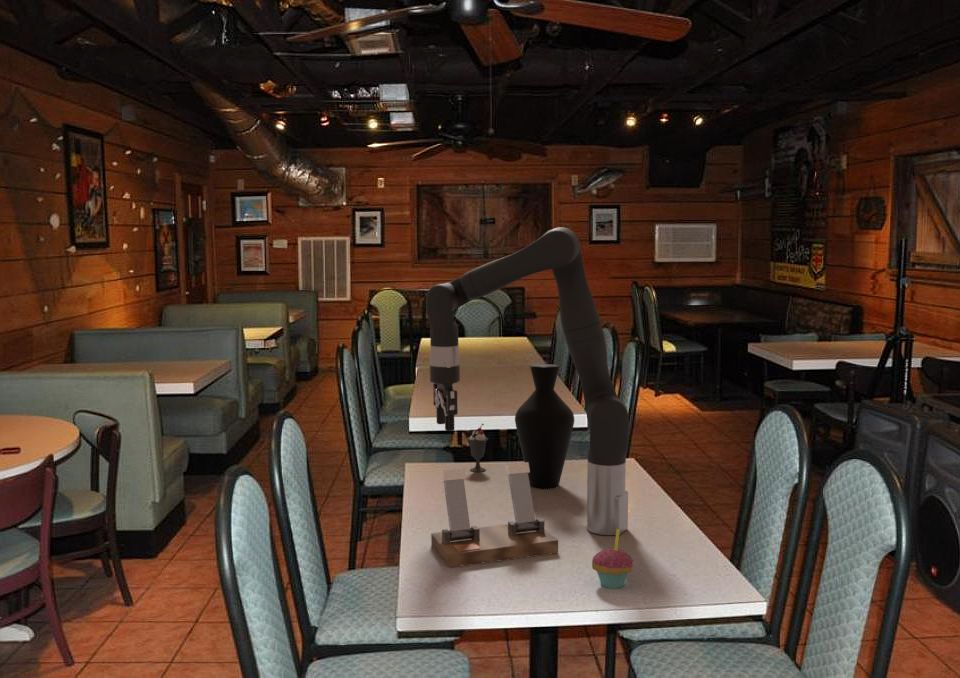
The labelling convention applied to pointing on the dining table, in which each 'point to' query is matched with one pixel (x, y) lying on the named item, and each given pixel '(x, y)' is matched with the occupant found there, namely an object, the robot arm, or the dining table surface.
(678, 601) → the dining table surface
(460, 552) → the switch base
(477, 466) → the sundae
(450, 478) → the outer lever
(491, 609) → the dining table surface
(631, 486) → the dining table surface
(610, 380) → the robot arm
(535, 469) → the vase
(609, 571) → the cupcake
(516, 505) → the inner lever
